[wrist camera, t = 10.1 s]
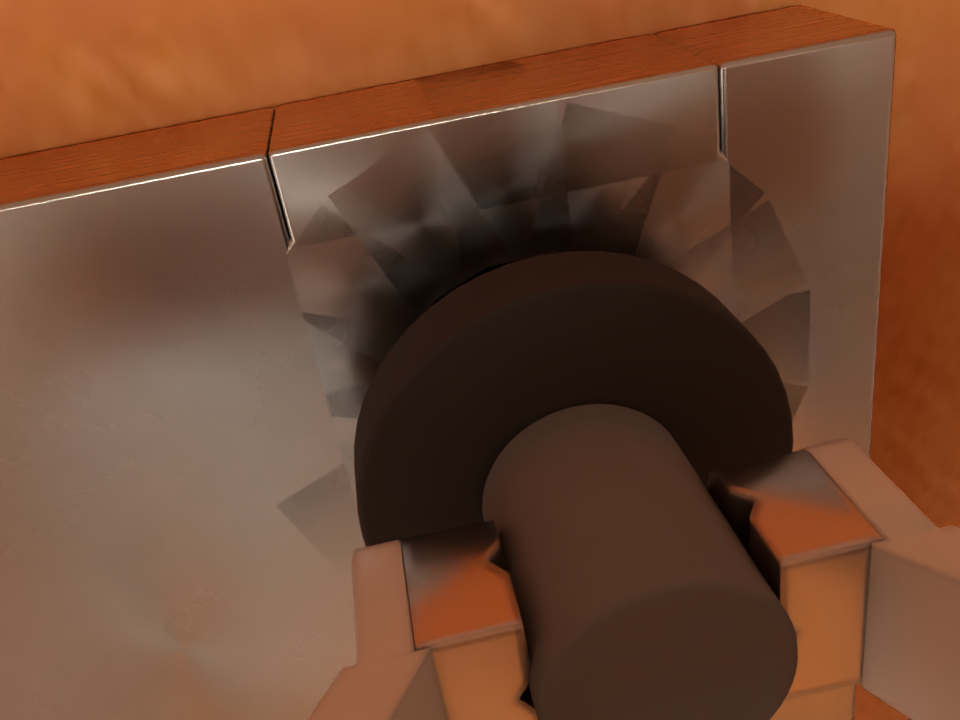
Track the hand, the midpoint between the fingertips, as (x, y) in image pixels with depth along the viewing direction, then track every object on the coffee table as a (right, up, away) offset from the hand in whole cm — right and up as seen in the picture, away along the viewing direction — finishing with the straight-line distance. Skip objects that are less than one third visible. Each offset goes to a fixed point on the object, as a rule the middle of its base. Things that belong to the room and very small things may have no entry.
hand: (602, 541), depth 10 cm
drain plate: (-2, 0, +6) cm, 7 cm away
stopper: (-1, +2, +4) cm, 4 cm away
